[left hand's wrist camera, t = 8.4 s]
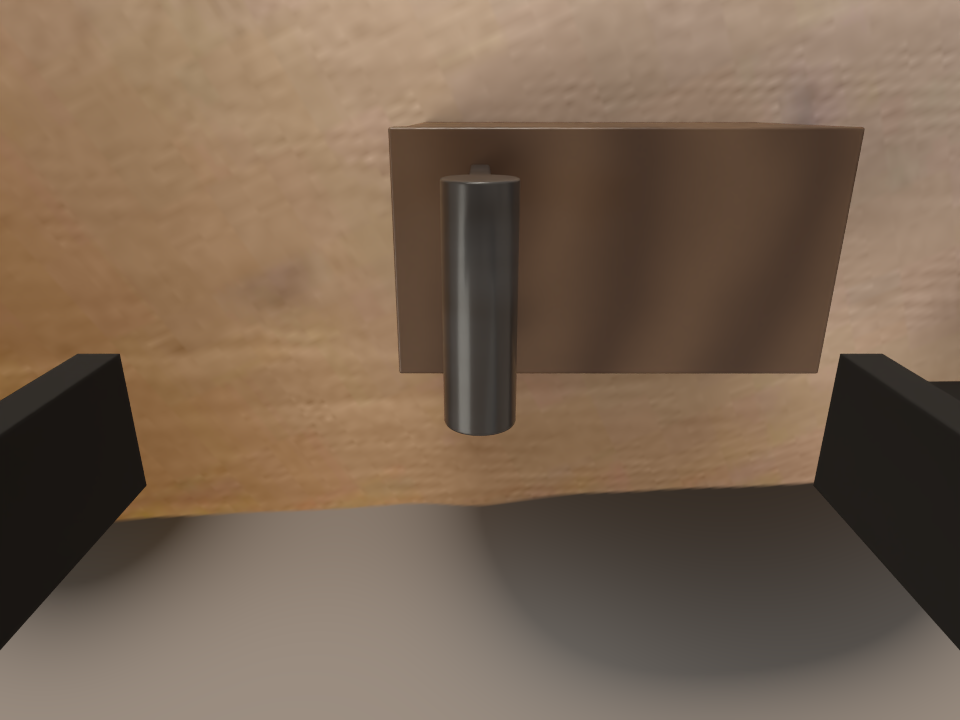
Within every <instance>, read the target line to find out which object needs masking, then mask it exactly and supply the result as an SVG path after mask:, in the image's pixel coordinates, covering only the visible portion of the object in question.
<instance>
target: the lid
mask: <svg viewBox="0 0 960 720" xmlns="http://www.w3.org/2000/svg"><path fill="white" fill-rule="evenodd" d="M388 133H389V155H390V176H391V198H392V220H393V242H394V264H395V285H396V307H397V329H398V351H399V371H400V373H444V417H445V423H446V425H447V426H448V427H449V428H450V429H452V430H454V431H456V432H458V433H462V434H466V435H473V436H487V435H494V434H498V433H502V432H504V431H506V430H508V429H510V428H511V427H512V426H513V425H514V423H515V417H516V373H817V372H818V368H819V362H820V357H821V352H822V347H823V342H824V337H825V331H826V326H827V321H828V316H829V311H830V306H831V300H832V295H833V290H834V285H835V280H836V274H837V269H838V264H839V259H840V254H841V249H842V243H843V238H844V233H845V228H846V223H847V217H848V212H849V207H850V202H851V197H852V192H853V186H854V181H855V176H856V171H857V166H858V160H859V155H860V150H861V145H862V140H863V135H864V128H863V127H390V128H389V129H388Z"/></svg>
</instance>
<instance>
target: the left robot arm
mask: <svg viewBox="0 0 960 720" xmlns="http://www.w3.org/2000/svg"><path fill="white" fill-rule="evenodd" d="M145 487H146V481H145V476H144V471H143V466H142V461H141V456H140V451H139V446H138V441H137V436H136V432H135V427H134V422H133V417H132V412H131V407H130V402H129V397H128V392H127V387H126V382H125V378H124V373H123V368H122V363H121V358H120V354H77V355H75V356H73V357H72V358H70V359H68V360H67V361H65V362H63V363H62V364H60V365H58V366H57V367H55V368H53V369H52V370H50V371H49V372H47V373H45V374H44V375H42V376H40V377H39V378H37V379H35V380H34V381H32V382H30V383H29V384H27V385H25V386H24V387H22V388H20V389H19V390H17V391H16V392H14V393H12V394H11V395H9V396H7V397H6V398H4V399H2V400H1V401H0V650H1V649H2V648H3V646H4V645H5V644H6V643H7V642H8V641H9V640H10V639H11V637H12V636H13V635H14V634H15V633H16V632H17V631H18V630H19V628H20V627H21V626H22V625H23V624H24V623H25V622H26V620H27V619H28V618H29V617H30V616H31V615H32V614H33V613H34V611H35V610H36V609H37V608H38V607H39V606H40V605H41V604H42V602H43V601H44V600H45V599H46V598H47V597H48V596H49V595H50V593H51V592H52V591H53V590H54V589H55V588H56V587H57V586H58V584H59V583H60V582H61V581H62V580H63V579H64V578H65V576H66V575H67V574H68V573H69V572H70V571H71V570H72V569H73V568H74V566H75V565H76V564H77V563H78V562H79V561H80V560H81V559H82V557H83V556H84V555H85V554H86V553H87V552H88V551H89V550H90V548H91V547H92V546H93V545H94V544H95V543H96V542H97V541H98V539H99V538H100V537H101V536H102V535H103V534H104V533H105V532H106V530H107V529H108V528H109V527H110V526H111V525H112V524H113V523H114V521H115V520H116V519H117V518H118V517H119V516H120V515H121V514H122V512H123V511H124V510H125V509H126V508H127V507H128V506H129V505H130V503H131V502H132V501H133V500H134V499H135V498H136V497H137V496H138V494H139V493H140V492H141V491H142V490H143V489H144V488H145ZM814 487H815V488H816V489H817V490H818V491H819V492H820V493H821V494H822V496H823V497H824V498H825V499H826V500H827V501H828V502H829V503H830V505H831V506H832V507H833V508H834V509H835V510H836V511H837V512H838V514H839V515H840V516H841V517H842V518H843V519H844V520H845V521H846V523H847V524H848V525H849V526H850V527H851V528H852V529H853V530H854V532H855V533H856V534H857V535H858V536H859V537H860V538H861V539H862V541H863V542H864V543H865V544H866V545H867V546H868V547H869V548H870V550H871V551H872V552H873V553H874V554H875V555H876V556H877V557H878V559H879V560H880V561H881V562H882V563H883V564H884V565H885V566H886V568H887V569H888V570H889V571H890V572H891V573H892V574H893V575H894V577H895V578H896V579H897V580H898V581H899V582H900V583H901V584H902V586H903V587H904V588H905V589H906V590H907V591H908V592H909V593H910V595H911V596H912V597H913V598H914V599H915V600H916V601H917V602H918V604H919V605H920V606H921V607H922V608H923V609H924V610H925V611H926V613H927V614H928V615H929V616H930V617H931V618H932V619H933V621H934V622H935V623H936V624H937V625H938V626H939V627H940V628H941V629H942V631H943V632H944V633H945V634H946V635H947V636H948V637H949V639H950V640H951V641H952V642H953V643H954V644H955V645H956V646H957V648H958V649H959V650H960V401H959V400H958V399H956V398H954V397H953V396H951V395H949V394H948V393H946V392H944V391H943V390H941V389H940V388H938V387H936V386H935V385H933V384H931V383H930V382H928V381H926V380H925V379H923V378H921V377H920V376H918V375H916V374H915V373H913V372H911V371H910V370H908V369H907V368H905V367H903V366H902V365H900V364H898V363H897V362H895V361H893V360H892V359H890V358H888V357H887V356H885V355H883V354H840V358H839V363H838V368H837V373H836V378H835V382H834V387H833V392H832V397H831V402H830V407H829V412H828V417H827V422H826V427H825V432H824V436H823V441H822V446H821V451H820V456H819V461H818V466H817V471H816V476H815V481H814Z"/></svg>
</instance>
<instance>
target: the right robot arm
mask: <svg viewBox="0 0 960 720" xmlns="http://www.w3.org/2000/svg"><path fill="white" fill-rule="evenodd" d="M930 383H931V384H933V385H935V386H936V387H938V388H940V389H941V390H943V391H944V392H946V393H948V394H949V395H951V396H953V397H954V398H956V399H958V400H959V401H960V381H948V382H930Z"/></svg>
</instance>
